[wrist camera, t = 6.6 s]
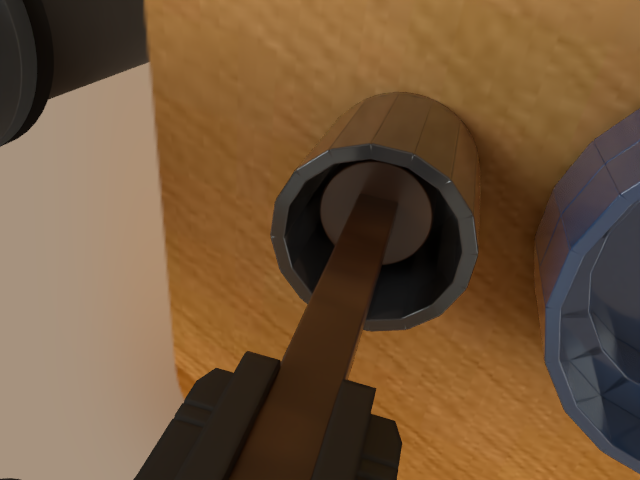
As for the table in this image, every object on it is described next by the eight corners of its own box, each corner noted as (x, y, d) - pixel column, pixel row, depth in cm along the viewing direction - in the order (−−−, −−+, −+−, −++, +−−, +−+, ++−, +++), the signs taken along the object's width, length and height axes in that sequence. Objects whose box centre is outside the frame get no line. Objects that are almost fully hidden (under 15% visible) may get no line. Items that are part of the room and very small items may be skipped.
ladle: (323, 227, 24) (87, 668, 10) (341, 131, 22) (77, 506, 8) (422, 252, 23) (329, 759, 9) (449, 157, 21) (385, 611, 7)
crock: (311, 219, 27) (260, 301, 21) (336, 75, 24) (285, 122, 18) (455, 257, 26) (444, 353, 20) (500, 112, 23) (505, 175, 17)
